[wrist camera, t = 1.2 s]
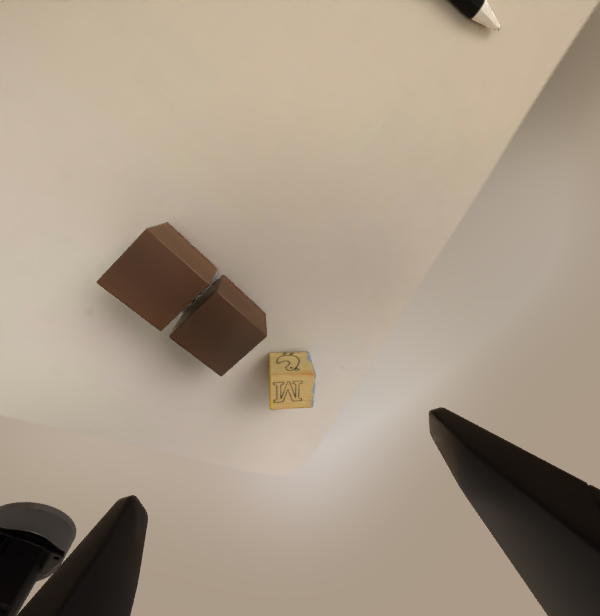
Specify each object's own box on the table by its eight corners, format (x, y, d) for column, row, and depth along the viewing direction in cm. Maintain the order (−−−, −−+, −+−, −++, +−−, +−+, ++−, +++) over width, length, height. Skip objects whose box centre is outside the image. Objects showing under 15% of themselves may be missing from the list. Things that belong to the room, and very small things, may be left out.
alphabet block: (307, 383, 23) (313, 409, 20) (268, 385, 23) (269, 412, 20) (308, 350, 22) (316, 372, 19) (268, 351, 21) (269, 375, 19)
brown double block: (226, 349, 21) (221, 377, 18) (124, 266, 18) (95, 282, 15) (266, 313, 20) (267, 335, 17) (167, 221, 17) (146, 228, 14)
